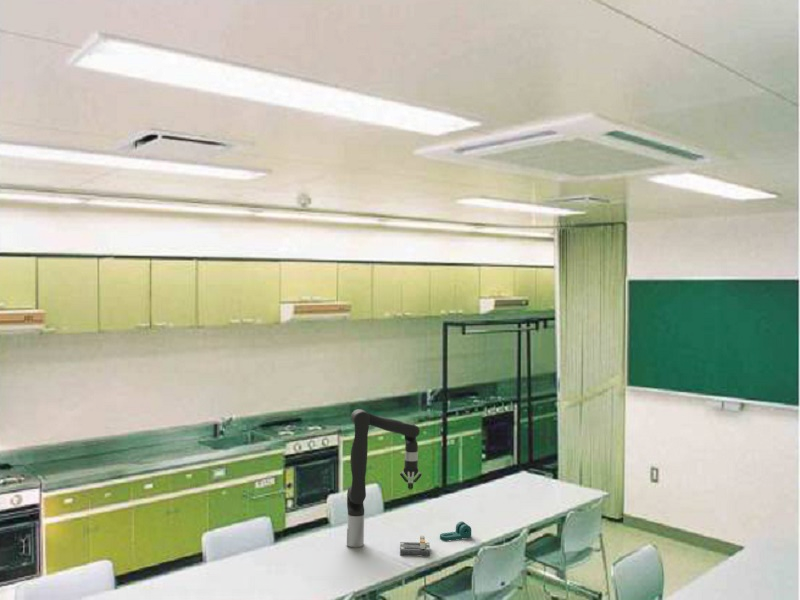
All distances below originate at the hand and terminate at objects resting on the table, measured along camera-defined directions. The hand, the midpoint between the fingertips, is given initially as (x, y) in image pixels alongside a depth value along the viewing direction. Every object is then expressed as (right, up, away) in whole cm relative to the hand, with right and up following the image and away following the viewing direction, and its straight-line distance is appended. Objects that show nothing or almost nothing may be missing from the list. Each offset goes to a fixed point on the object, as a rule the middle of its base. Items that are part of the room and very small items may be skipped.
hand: (410, 489), depth 393 cm
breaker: (+6, -26, -14) cm, 30 cm away
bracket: (+26, -30, +6) cm, 40 cm away
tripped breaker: (+6, -26, -20) cm, 33 cm away
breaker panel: (+2, -29, -17) cm, 34 cm away
